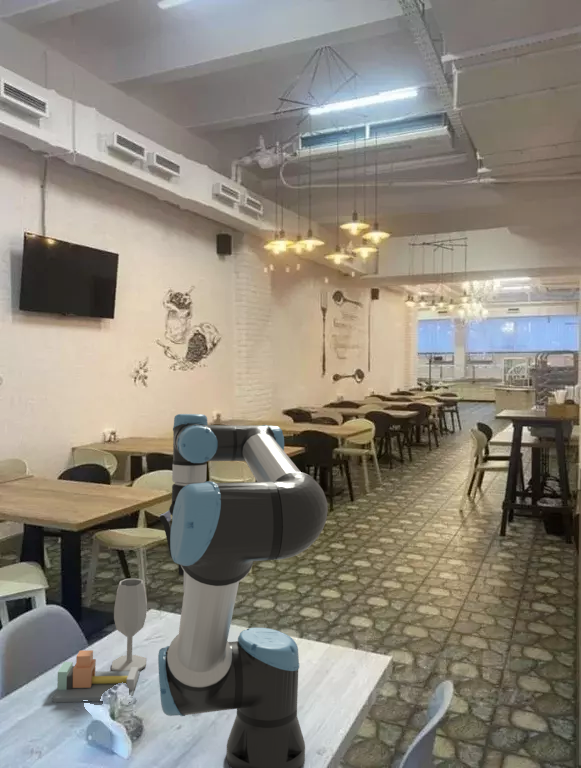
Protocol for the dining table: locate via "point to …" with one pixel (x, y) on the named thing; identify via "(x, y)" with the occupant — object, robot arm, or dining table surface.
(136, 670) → the linear slide rail
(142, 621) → the wineglass
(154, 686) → the dining table surface
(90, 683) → the sleeve
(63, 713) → the dining table surface
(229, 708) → the robot arm
